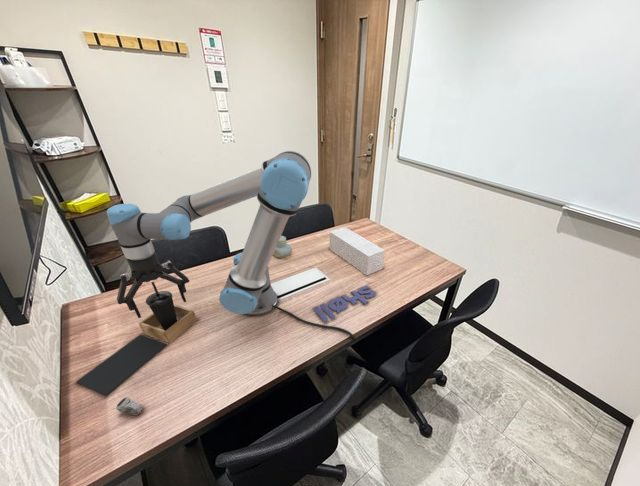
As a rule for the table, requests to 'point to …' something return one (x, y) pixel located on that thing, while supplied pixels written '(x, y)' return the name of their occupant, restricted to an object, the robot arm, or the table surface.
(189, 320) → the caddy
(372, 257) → the white rectangular block
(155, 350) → the mat
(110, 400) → the table surface
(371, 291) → the signage
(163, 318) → the drinking cup
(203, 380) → the table surface
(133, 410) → the grey stone
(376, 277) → the table surface
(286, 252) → the air freshener
